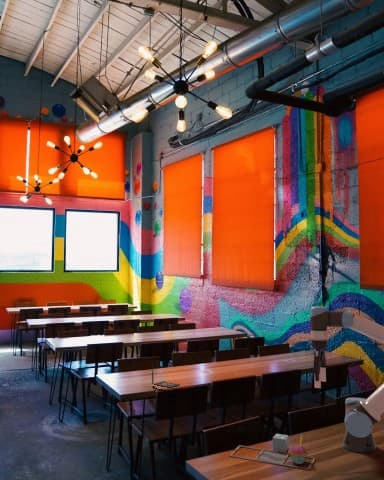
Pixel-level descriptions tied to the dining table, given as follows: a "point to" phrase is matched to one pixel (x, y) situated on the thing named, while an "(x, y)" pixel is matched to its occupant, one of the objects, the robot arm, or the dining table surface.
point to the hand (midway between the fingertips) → (320, 384)
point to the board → (272, 457)
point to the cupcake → (298, 453)
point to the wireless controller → (163, 383)
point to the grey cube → (280, 443)
